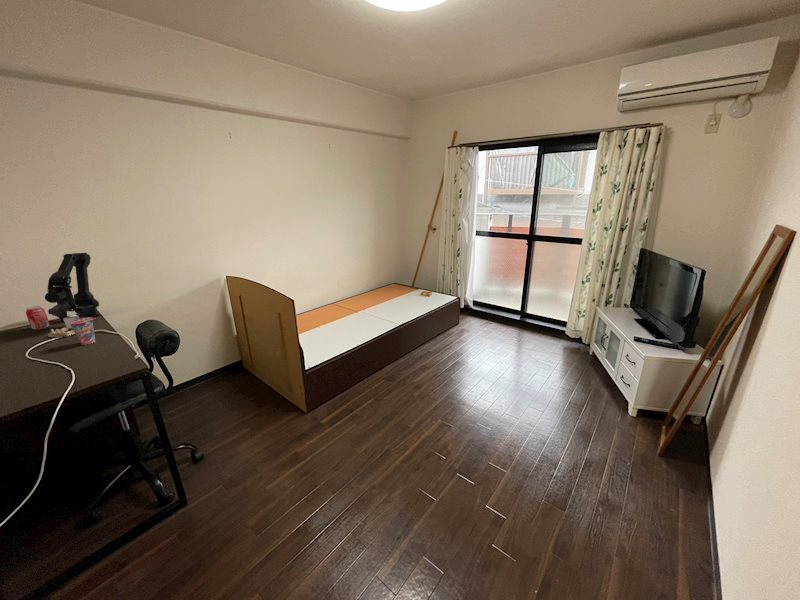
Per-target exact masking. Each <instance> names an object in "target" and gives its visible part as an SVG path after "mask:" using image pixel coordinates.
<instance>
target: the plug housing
mask: <svg viewBox="0 0 800 600" xmlns="http://www.w3.org/2000/svg"><path fill="white" fill-rule="evenodd" d="M63 319H64V322H65V324H64V325H65V327H67V328H68V329H73V328H72V326H71V325H70V324H69V322H70V321H72V320H75V319H80V318H79V316H78V315H76V314H71V315H69V316H67V317H65V318H63Z"/></svg>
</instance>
